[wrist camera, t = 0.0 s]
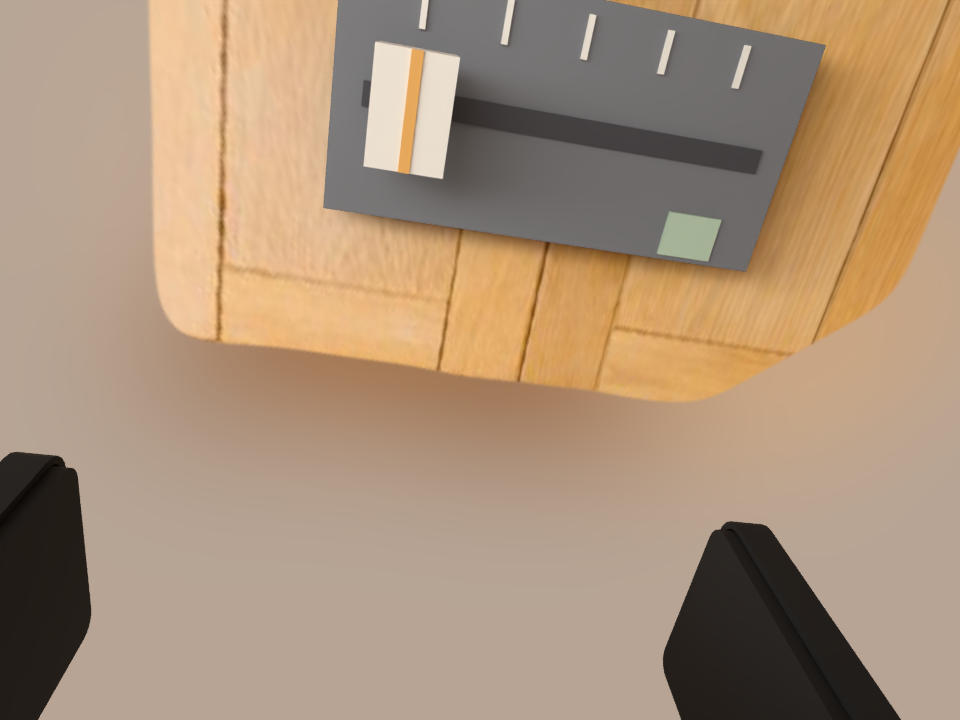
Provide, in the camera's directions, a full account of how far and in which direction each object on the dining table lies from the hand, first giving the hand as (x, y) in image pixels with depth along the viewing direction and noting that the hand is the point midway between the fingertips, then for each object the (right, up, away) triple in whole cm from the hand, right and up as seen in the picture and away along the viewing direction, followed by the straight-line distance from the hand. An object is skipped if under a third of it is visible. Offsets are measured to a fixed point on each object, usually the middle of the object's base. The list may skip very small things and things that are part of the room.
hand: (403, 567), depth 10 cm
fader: (-2, +16, +23) cm, 28 cm away
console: (+6, +16, +27) cm, 32 cm away
